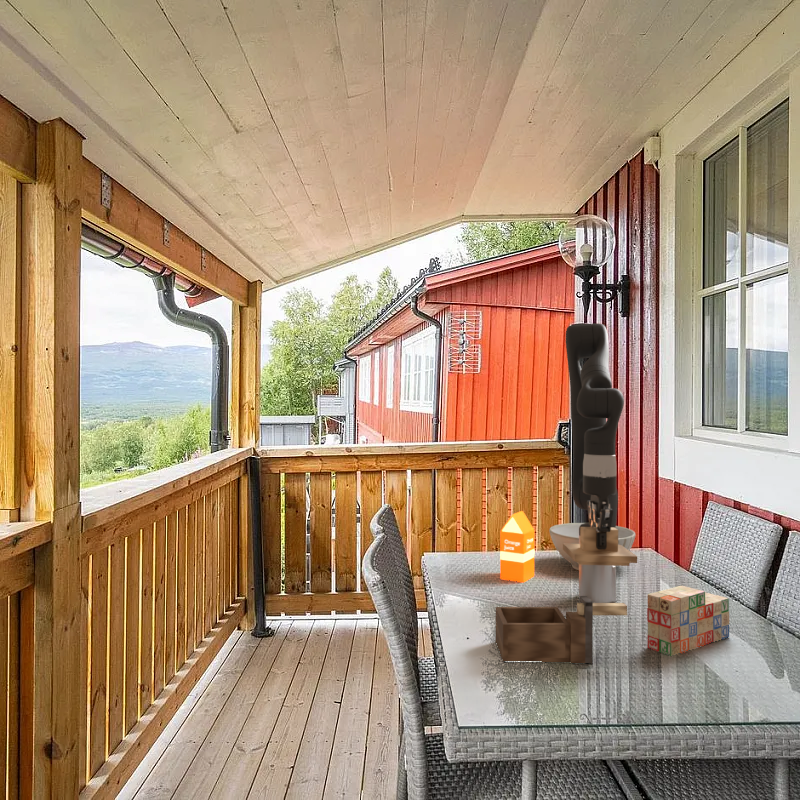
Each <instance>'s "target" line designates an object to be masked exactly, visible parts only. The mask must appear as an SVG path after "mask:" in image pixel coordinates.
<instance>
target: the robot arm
mask: <svg viewBox="0 0 800 800" xmlns="http://www.w3.org/2000/svg"><path fill="white" fill-rule="evenodd" d="M609 343H610V342H609V334H608V330H607V328H606V325H604V324H603V323H599V322H598V323H584V324H583V323H582V324H574V325H573V324H572V325H568V326H567V328H566V330H565V348H566V349H565V350H566V358H567V368H568V376H569V388H570V418H571V431H572V452H573V453H572V454H573V457H572V458H573V459H572V460H573V462H572V463H573V465H572V468H573V469H572V488H571V489H572V497H573V498H572V499H573V502H574V504H575V505H576V507H577V508H578V509H580V510H585V511H587V515H588V522H583V523H584V524H581V525H580V527H579V544H580V528H581V527H596V532H597V533H596V547H597V549H606V548H607V533H608V532H610V530H611V527H614V528H615V527H616V526H617V519H618V517H617V516H618V504H619V503H618V502H619V501H618V500H619V498H618V496H619V495H618V489H617V467H618V466H617V457H616V441H617V440H616V439H617V432H618V425H619V423H620V419H621V415H622V412H623V409H624V405H625V398H624V395H623V393H622V392H621V390H619V389H618V388H614V387H613V384H612V378H611V374H610V370H609V369H610V368H609V367H610V344H609ZM580 359H586V361H585V362H584V364H583V365H582V366H581V364H580ZM580 596H587V597H588V598H589V599H590V600H591V601H592V602H593V603H617V566H612V565H579V570H578V598H579V599H580Z"/></svg>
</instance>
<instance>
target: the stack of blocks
mask: <svg viewBox="0 0 800 800" xmlns="http://www.w3.org/2000/svg"><path fill="white" fill-rule="evenodd" d="M729 602H730V600H729V597H726V596H722V595H718V594H713V593H708V592H706V591H705V590H702V589H701V590H700V589H697V588H693V587H689V586H684V585H679V586H674V587H671V588H666V589H662V590H659V591H655V592H651V593H648V594H647V608H646V612H647V613H646V614H647V615H646V619H647V634H646V635H647V638H646V639H647V646H646V647H647V648H648V649H650V648H651V649H650V650H652V649H653V650H652V651H655V650H656V651H655V652H658V651H659V653H661V652H662V653H661V654H663V653H665V654H664V655H666V654H668V655H667V656H669V655H670V656H669V657H673V656H672V655H674V656H676V655H675V654H677V655H679V654H678V653H681V654H683V653H682V652H684V653H686V652H685V651H688V650H691V651H693V650H692V649H694V650H696V649H695V648H697V647H699V648H701V647H700V646H702V647H705V646H707V645H706V644H708V645H710V644H709V643H711V642H714V643H716V642H715V641H717V642H719V641H718V640H720V641H722V640H721V639H723V640H725V639H724V638H726V639H728V638H727V637H729V638H730V608H729V607H730V603H729ZM711 644H712V643H711ZM704 645H705V646H704ZM697 649H698V648H697ZM688 652H689V651H688Z"/></svg>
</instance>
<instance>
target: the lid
mask: <svg viewBox="0 0 800 800" xmlns="http://www.w3.org/2000/svg"><path fill="white" fill-rule="evenodd" d="M596 533H597V532H596V527H581V528H580V544H566V543H563V550H564V551H565V552H566V553H567V554H568V555H569V556H570V557H571V558H572V559H573V560H574V561H575V562H577V563H578V564H579V565H612V566H616V567H618V566H619V567H630V564H637V563H638V555H636V554H635V553H634V552H632V551H629V550H628V549H626V548H625V547H623V546H622V545H618V529H616V528H614V527H611V530H610V532H608V533H607V548H606V549H597V547H596Z"/></svg>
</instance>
